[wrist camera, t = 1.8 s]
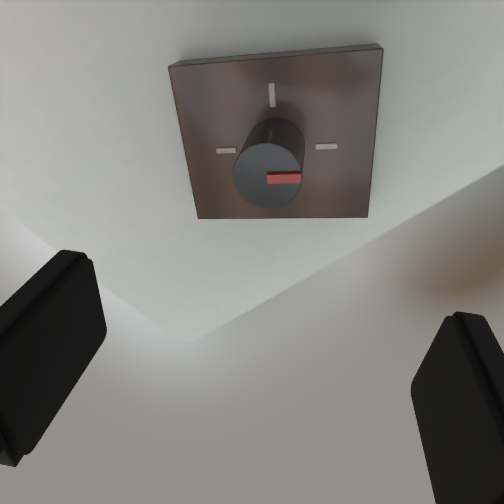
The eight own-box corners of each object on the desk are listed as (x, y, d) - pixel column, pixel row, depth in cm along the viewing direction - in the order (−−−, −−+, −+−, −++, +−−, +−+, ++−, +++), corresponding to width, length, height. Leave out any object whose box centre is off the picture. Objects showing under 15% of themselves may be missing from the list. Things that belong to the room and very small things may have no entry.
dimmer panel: (205, 204, 31) (197, 220, 29) (179, 60, 25) (166, 66, 23) (364, 202, 29) (368, 219, 27) (378, 43, 23) (384, 48, 21)
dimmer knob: (249, 176, 26) (235, 211, 22) (243, 119, 24) (227, 146, 20) (305, 175, 26) (302, 210, 21) (304, 116, 24) (301, 142, 19)
